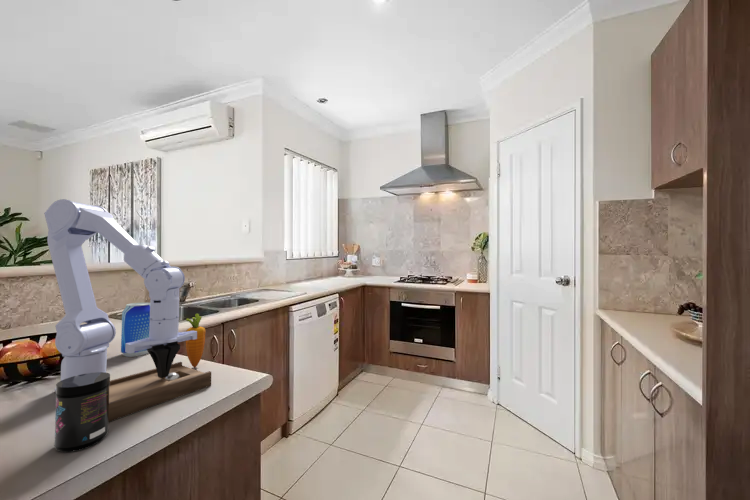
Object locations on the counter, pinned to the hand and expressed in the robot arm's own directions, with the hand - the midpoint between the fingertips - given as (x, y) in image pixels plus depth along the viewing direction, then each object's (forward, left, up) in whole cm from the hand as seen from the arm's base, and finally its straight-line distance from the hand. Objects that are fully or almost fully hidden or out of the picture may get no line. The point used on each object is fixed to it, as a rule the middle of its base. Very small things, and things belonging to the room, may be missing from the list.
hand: (163, 376), depth 73 cm
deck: (0, -3, -3) cm, 4 cm away
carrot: (-9, +12, -3) cm, 16 cm away
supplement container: (+11, -18, -3) cm, 21 cm away
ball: (-1, +2, -2) cm, 3 cm away
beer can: (-38, +10, -3) cm, 39 cm away
